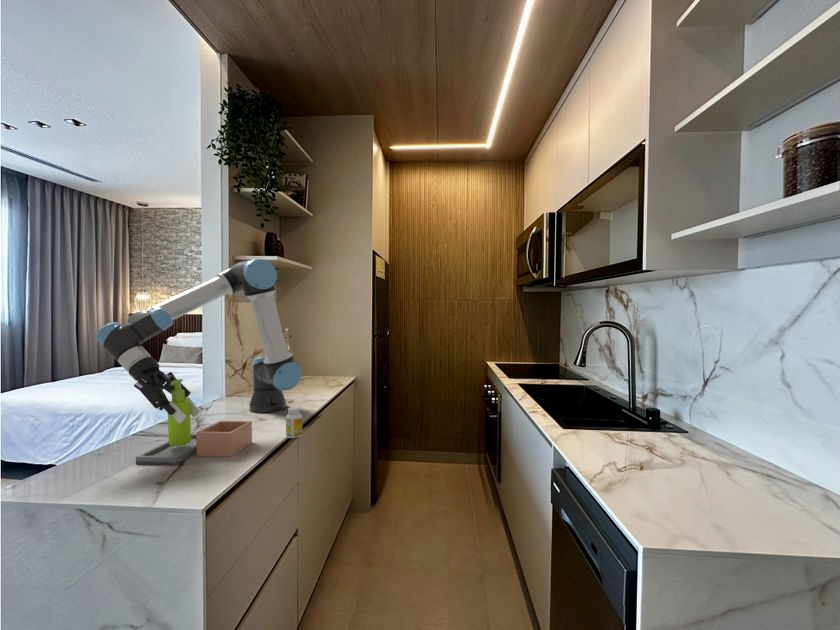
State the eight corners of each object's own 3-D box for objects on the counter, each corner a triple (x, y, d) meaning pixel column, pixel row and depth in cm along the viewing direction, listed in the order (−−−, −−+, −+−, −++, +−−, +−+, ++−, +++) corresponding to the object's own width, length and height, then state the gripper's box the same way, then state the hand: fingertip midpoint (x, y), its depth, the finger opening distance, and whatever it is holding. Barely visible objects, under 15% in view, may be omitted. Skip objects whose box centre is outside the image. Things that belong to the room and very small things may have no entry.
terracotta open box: (220, 441, 128) (219, 420, 127) (252, 442, 127) (251, 421, 127) (196, 455, 116) (196, 432, 115) (231, 456, 115) (231, 433, 115)
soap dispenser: (164, 448, 115) (161, 383, 114) (172, 440, 122) (170, 378, 120) (186, 446, 117) (184, 382, 115) (193, 438, 123) (191, 377, 122)
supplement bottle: (284, 438, 130) (283, 410, 130) (288, 433, 135) (287, 406, 135) (300, 438, 130) (300, 410, 130) (303, 433, 136) (303, 406, 136)
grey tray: (183, 439, 130) (183, 433, 130) (217, 440, 129) (217, 434, 129) (135, 463, 110) (135, 456, 110) (175, 464, 109) (175, 457, 109)
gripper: (155, 367, 129) (202, 416, 128) (105, 378, 110) (159, 435, 110) (169, 352, 129) (217, 401, 128) (121, 360, 110) (176, 417, 109)
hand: (190, 417), depth 119 cm, fingers closed on soap dispenser, 6 cm apart
